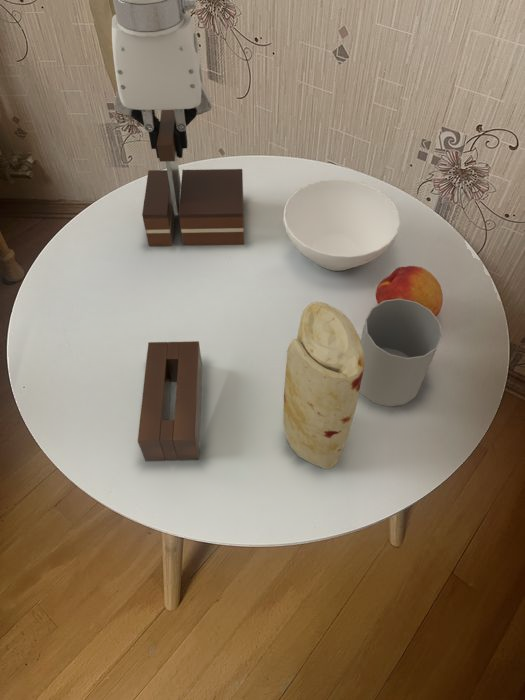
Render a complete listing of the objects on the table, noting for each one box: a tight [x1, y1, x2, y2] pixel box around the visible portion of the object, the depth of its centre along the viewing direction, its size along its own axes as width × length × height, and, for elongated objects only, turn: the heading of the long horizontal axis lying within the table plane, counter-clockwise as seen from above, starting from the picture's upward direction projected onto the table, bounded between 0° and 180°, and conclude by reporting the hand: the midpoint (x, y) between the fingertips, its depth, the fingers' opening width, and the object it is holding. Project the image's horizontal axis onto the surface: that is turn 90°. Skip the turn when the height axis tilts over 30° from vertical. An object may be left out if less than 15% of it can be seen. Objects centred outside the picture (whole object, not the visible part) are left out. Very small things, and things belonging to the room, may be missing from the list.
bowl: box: [283, 178, 401, 272], centre depth 80 cm, size 16×16×7 cm
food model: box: [282, 301, 364, 469], centre depth 57 cm, size 10×7×20 cm
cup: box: [359, 299, 443, 408], centre depth 66 cm, size 8×8×10 cm
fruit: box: [375, 265, 444, 318], centre depth 73 cm, size 8×8×8 cm
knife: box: [157, 109, 182, 216], centre depth 79 cm, size 2×8×12 cm, turn 2°
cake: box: [178, 168, 245, 246], centre depth 84 cm, size 9×10×6 cm
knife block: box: [137, 340, 203, 462], centre depth 65 cm, size 6×13×5 cm, turn 2°
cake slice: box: [141, 169, 176, 247], centre depth 84 cm, size 4×10×6 cm, turn 2°
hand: (170, 151), depth 77 cm, fingers closed on knife, 2 cm apart
